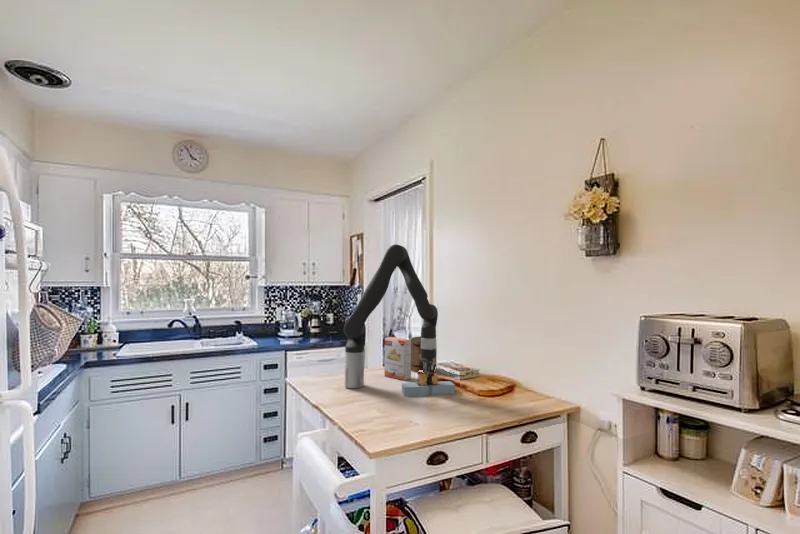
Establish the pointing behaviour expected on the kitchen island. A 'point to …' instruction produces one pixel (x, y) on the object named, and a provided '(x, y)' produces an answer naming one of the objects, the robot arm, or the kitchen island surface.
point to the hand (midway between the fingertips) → (428, 383)
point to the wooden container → (417, 355)
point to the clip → (424, 379)
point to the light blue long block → (428, 389)
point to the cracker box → (398, 358)
